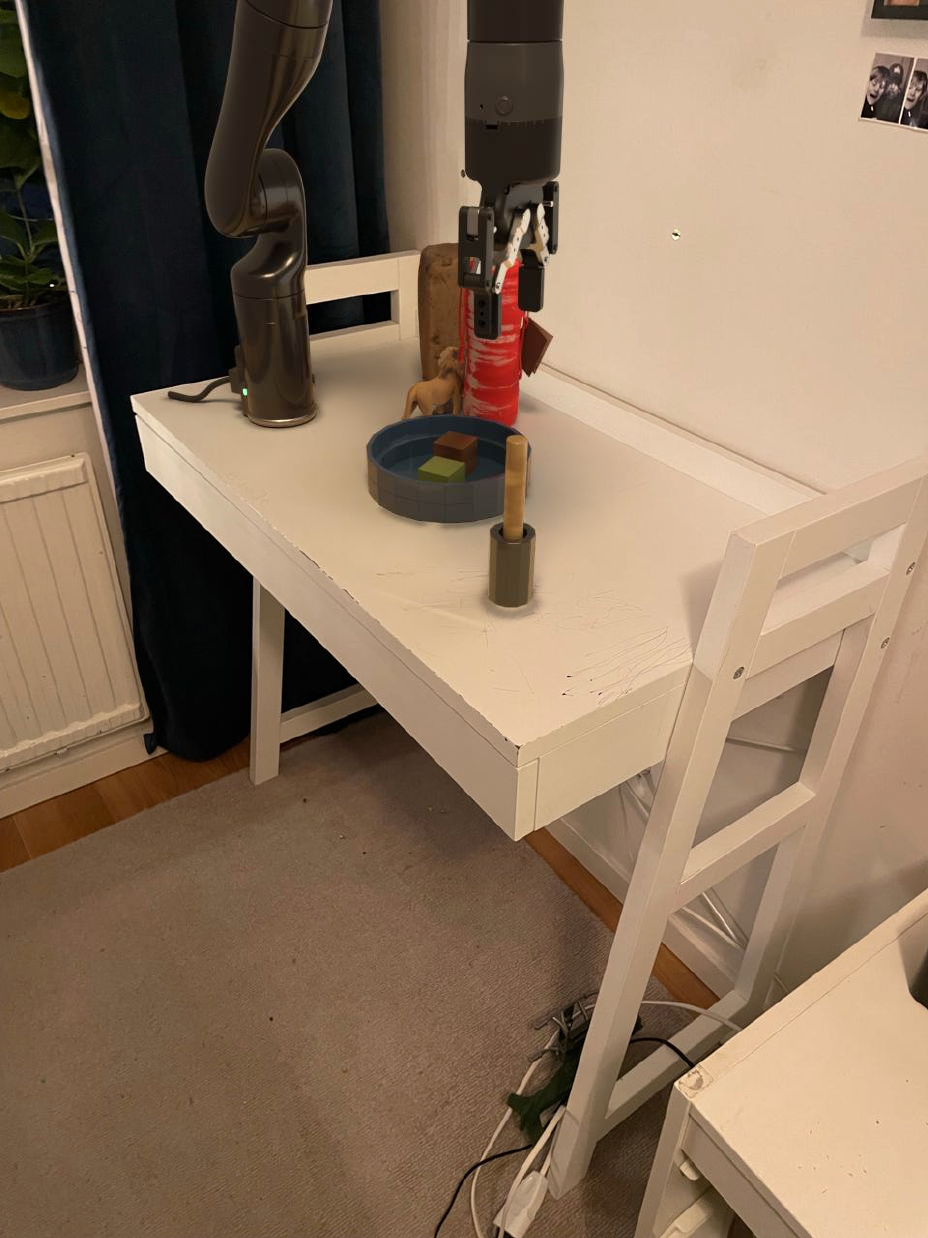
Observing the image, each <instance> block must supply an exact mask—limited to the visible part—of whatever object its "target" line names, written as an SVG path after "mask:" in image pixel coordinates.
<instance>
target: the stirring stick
mask: <svg viewBox="0 0 928 1238" xmlns="http://www.w3.org/2000/svg"><path fill="white" fill-rule="evenodd" d="M524 436H525V435H524ZM524 436H521V435H512V436H509V437H508V438H507V439H506V464H505V490H504V513H503V518H502V519H503V520H502V522H503V538H506V539H510V540H518V539H521V538H523V523H524V520H525V519H524V518H525V502H526V501H525V500H526V499H525V498H526V497H525V484H526V465H527V446H528V442H529V440H528V438H527V436H525V437H524Z"/></svg>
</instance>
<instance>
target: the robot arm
mask: <svg viewBox="0 0 928 1238" xmlns="http://www.w3.org/2000/svg"><path fill="white" fill-rule="evenodd" d="M333 1H334V0H237V2H236V10H235V16H234V25H233V35H232V36H233V37H232V44H231V52H230V58H229V63H228V71H227V75H226V82H225V87H224V93H223V98H222V104H221V108H220V112H219V116H218V120H217V123H216V128H215V130H214V131H215V132H214V135H213V140H212V144H211V147H210V151H209V155H208V159H207V162H206V163H207V164H206V169H205V176H204V202H205V206H206V211H207V214H208V218H209V220H210V222H211V224H212V225H213V227H214V228H215V229H216V231H218V232H219V233H220V234H221V235H223V236H225V237H227V238H234V239H241V238H250V237H255V236H258V237H257V240H256V243H255V244H254V245H253V247H252V248H251V249H250V250H249V252H248V253H246V254H245V255H244V256H243V257H241V258H240V259H239V260H237V261H236V262H235V263H234V264H233V266H231V269H230V282H231V283H230V284H231V290H232V299H233V306H234V314H235V319H236V329H237V336H238V343H239V345H237V346H235V347H234V357H235V363H236V364H235V365H236V366H234V367H232V368H231V369H228V376H224V377H221V378H218V379H216V380H214V381H212V382H210V383H209V384H208V385H207V386H206V387H204V389H203V390H202V391H201V392H200V393H198V394H195V395H190V394H189V395H188V394H184V393H180V392H177V391H173V390H169V391H167V397H168V398H172V399H176V400H180V401H183V402H187V403H188V402H189V403H195V402H200V401H202V400H205V398H207V397H208V396H209V394H211V392H212V391H213V390H215V389H216V388H218V387H221V386H224V385H226V384H229V385H230V392H231V393H232V394H236V395H240V402H241V409H242V415H243V416H246V417H248V419H249V420H250V421H251V422H252V423H254V424H256V425H259V426H264V427H269V428H286V427H293V426H298V425H301V424H304V423H307V422H309V421H311V420H312V419H314V418H315V417H316V415H317V404H316V398H315V397H316V396H315V388H314V387H317V386H316V385H317V384H316V383H317V382H316V375H315V374H314V372H313V363H312V351H311V339H310V330H309V319H308V308H307V307H308V306H307V297H306V295H307V294H306V285H305V284H306V283H305V274H306V271H307V265H308V244H307V243H308V241H307V209H306V196H305V188H304V184H303V179H302V176H301V173H300V171H299V167H298V165H297V163H296V162H295V160H294V158H293V157H292V156H291V155H290V154H289V153H288V152H287V151H285V150H283V149H280V148H266V147H267V144H268V141H269V140H270V138H271V135H272V133H273V132H274V130H275V128H276V126H277V125H278V124H279V123H280V121H282V120H281V119H282V118H283V117H284V116H285V114H286V113H287V112H288V110H289V109H290V108H291V107H292V105H293V104H294V103H295V101H296V100H297V99H298V98H299V96H300V95H301V93H303V91H304V89H305V88H306V87H307V85H308V84H309V82H310V81H311V79H312V77H313V76H314V75H315V72H316V70H317V67H318V66H319V63H320V61H321V57H322V54H323V49H324V46H325V40H326V37H327V32H328V27H329V23H330V18H331V15H332V14H331V13H332V10H333V9H332V8H333ZM564 7H565V0H466V36H467V37H466V39H467V42H466V54H465V55H466V56H465V65H464V75H463V76H464V77H463V78H464V79H463V82H464V83H463V108H464V109H463V111H464V115H463V117H464V118H463V119H464V123H463V124H464V174H465V176H466V177H467V178H468V179H469V180H471V181H473V182H477V183H478V184H479V186H480V187H481V191H480V199H479V204H478V206H475V205H461V206H460V208H459V210H458V222H457V223H458V224H457V225H458V232H457V243H458V286H459V288H465V289H470V290H472V291H473V293H474V334H475V336H476V337H477V338H482V339H488V340H496V339H497V338H499V337H500V336H501V332H502V293H500V291H501V288H502V285H503V281H504V278H505V274H506V271H507V269H509V268H511V267H512V266H513V265H514V263H515V260H516V257H517V258H518V261H519V263H520V264H523V265H524V266H520V267H519V270H518V308H519V309H520V310H521V311H526V313H527V312H529V313H536V314H537V313H539V312H540V311H541V310H543V308H544V305H545V304H544V301H545V299H544V298H545V275H546V274H545V272H546V268H547V267H548V266H549V263H550V255H552V256H553V255H554V256H555V255H556V254H557V252H558V249H559V213H560V211H559V210H560V183H559V181H558V180H555V179H557V178H558V177H559V175H560V174H561V161H562V143H563V142H562V140H563V118H564V117H563V116H564V92H565V65H564V52H563V51H564V50H563V32H564V11H565V9H564ZM470 257H473V259H474V263H473V267H472V271H471V273H470ZM493 266H495V270H494V273H493V277H492V269H493Z"/></svg>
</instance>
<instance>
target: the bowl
mask: <svg viewBox="0 0 928 1238" xmlns="http://www.w3.org/2000/svg"><path fill="white" fill-rule="evenodd" d="M448 431H453V432H457V433H461V434H465V435H470V436H474V437H478V449H477V467H476V468H475V469H474V470H473V471H472V472H471V473H469V474H468V475H467V476H466V477H465V482H459V483H439V482H428V481H419V480H418V469H419V468H420V467H421V466H422V465H424V464H425V463H426V462H428V461H429V460H430V459H432V458H433V443H434V442H435V441H436V440H438V439H439V438H440V437H442V436H443V435H444V434H446V433H447V432H448ZM512 435H521V436H524V437H526V436H525V435H524V434H522V433H521V432H520V431H519V430H517V429H516V428H515V427H513V426H508V425H506V424H503V423H501V422H498V421H495V420H491V419H486V418H482V417H478V416H469V415H465V414H460V415H457V414H453V413H442V414H432V415H425V416H423V415H420V416H415V417H410V418H409V419H404V420H401V419H400V420H399V421H396V422H393V423H391V424H387V425H386V426H384V427H383V428H381V429H380V430H378V431H377V432H375V433H374V434H372V436H371V437H370V439H369V441H368V442H367V444H366V446H365V449H366V451H365V452H366V453H365V454H366V469H367V483H368V492H369V493H368V494H369V495H370V496H371V497H372V499H374V501H376V503H377V504H378V505H379V506H381V507H382V508H384V509H386V510H388V511H390V512H392V513H394V514H396V515H399V516H401V517H405V518H409V519H412V520H416V521H420V522H421V521H422V522H432V523H442V524H449V523H451V524H452V523H453V524H454V523H468V522H476V521H480V520H485V519H489V518H493V517H498V516H500V515H502V514H504V490H505V464H506V439H507V438H508V437H509V436H512ZM532 450H533V449H532V447H531V444H530V442H529V441H528V446H527V465H526V484H525V498H526V497H527V495H528V492H529V488H530V485H531V470H532V469H531V467H532Z"/></svg>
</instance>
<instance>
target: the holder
mask: <svg viewBox="0 0 928 1238" xmlns="http://www.w3.org/2000/svg"><path fill="white" fill-rule="evenodd" d="M536 539H537V534H536V529H535V528H534V527H533V526H532V525H530V524H529V523H527V522H523V538H521V539H518V540H510V539H506V538H503V521H500V522H497V523H495V524H494V525H493V526H491V528H490V529H489V547H488V548H489V550H488V551H489V553H488V581H487V585H488V586H487V595H488V600H490V601H491V602H492V603H493V604H494V605H495V606H499V607H502V608H511V609H512V608H520V607H523V606H526V605H528V604H529V603H530V602H531V600H532V599H533V589H534V573H535V558H536V557H535V555H536V554H535V553H536V542H537V540H536Z"/></svg>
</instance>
